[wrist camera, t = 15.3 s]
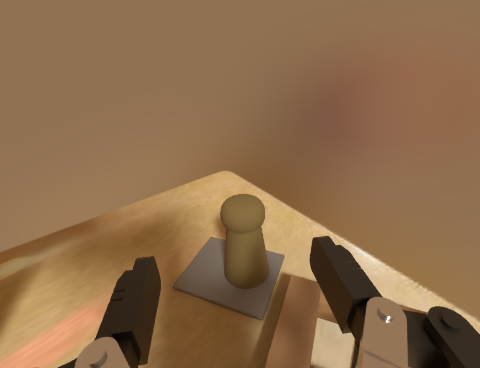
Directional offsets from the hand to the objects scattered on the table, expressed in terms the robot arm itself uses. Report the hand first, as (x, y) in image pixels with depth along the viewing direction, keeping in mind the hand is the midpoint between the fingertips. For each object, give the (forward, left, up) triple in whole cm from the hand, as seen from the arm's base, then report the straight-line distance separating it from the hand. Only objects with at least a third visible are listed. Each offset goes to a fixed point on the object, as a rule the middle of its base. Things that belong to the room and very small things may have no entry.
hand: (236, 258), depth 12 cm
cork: (-5, +13, -17) cm, 22 cm away
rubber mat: (-7, +12, -17) cm, 22 cm away
